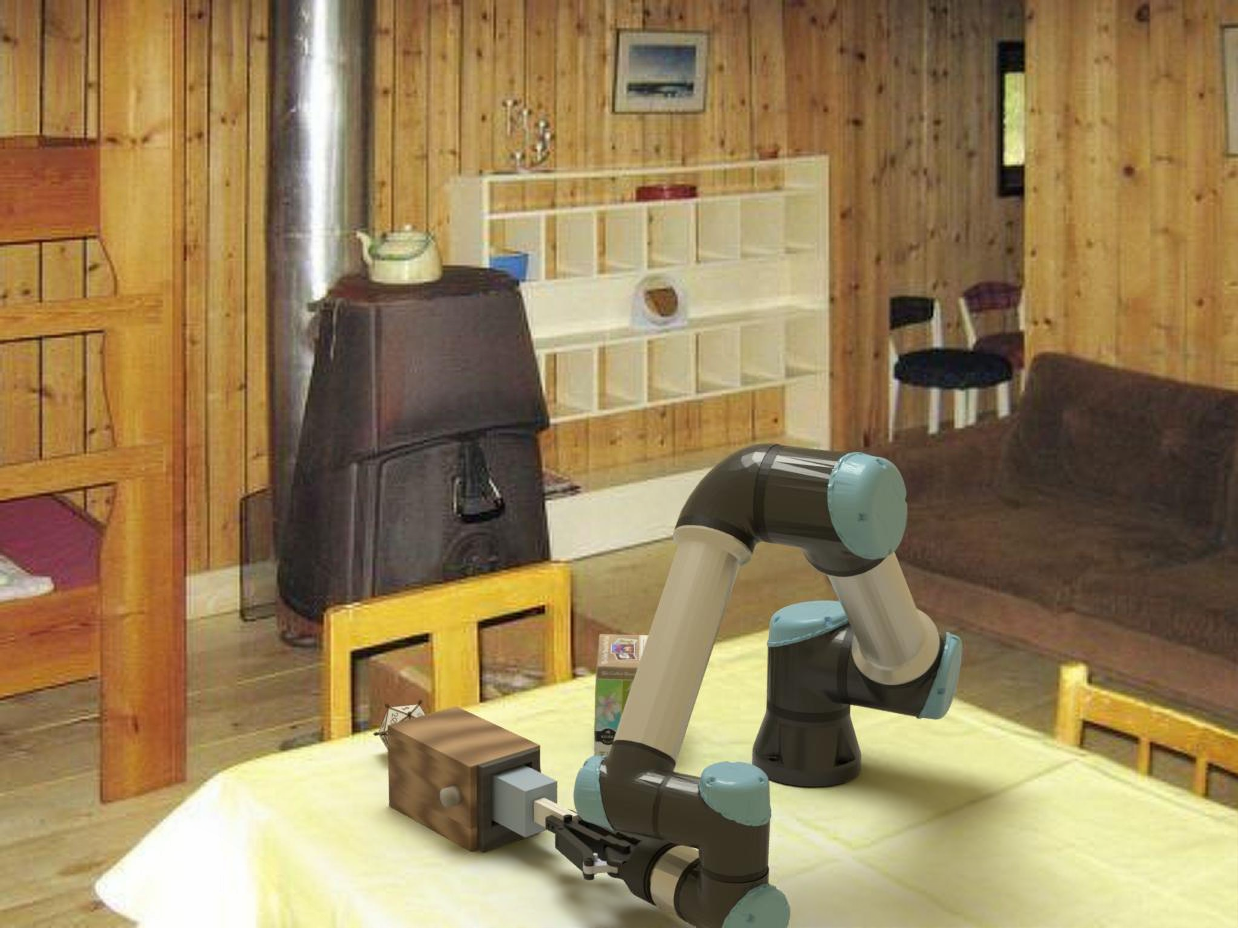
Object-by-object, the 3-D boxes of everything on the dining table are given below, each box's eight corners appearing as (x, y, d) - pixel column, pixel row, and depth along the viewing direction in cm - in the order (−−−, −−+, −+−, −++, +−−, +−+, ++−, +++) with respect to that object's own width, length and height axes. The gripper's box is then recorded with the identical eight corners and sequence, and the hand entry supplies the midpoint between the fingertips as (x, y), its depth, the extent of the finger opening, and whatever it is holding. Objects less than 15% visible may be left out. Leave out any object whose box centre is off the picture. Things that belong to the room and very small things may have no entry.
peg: (557, 826, 219) (557, 780, 217) (525, 837, 216) (525, 791, 214) (483, 788, 230) (483, 745, 228) (452, 798, 227) (452, 754, 225)
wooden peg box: (555, 826, 227) (556, 744, 224) (466, 858, 218) (465, 772, 215) (466, 781, 241) (465, 703, 238) (378, 808, 232) (377, 728, 229)
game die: (415, 786, 248) (423, 748, 241) (360, 761, 249) (367, 722, 242) (442, 738, 254) (451, 700, 247) (389, 713, 255) (396, 674, 248)
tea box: (665, 767, 246) (667, 666, 243) (593, 766, 247) (593, 665, 243) (664, 728, 261) (665, 632, 258) (595, 726, 261) (596, 631, 258)
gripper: (627, 924, 195) (496, 853, 213) (712, 889, 204) (579, 823, 221) (628, 861, 194) (496, 794, 211) (713, 828, 202) (580, 767, 219)
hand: (539, 809), depth 216 cm, fingers closed
